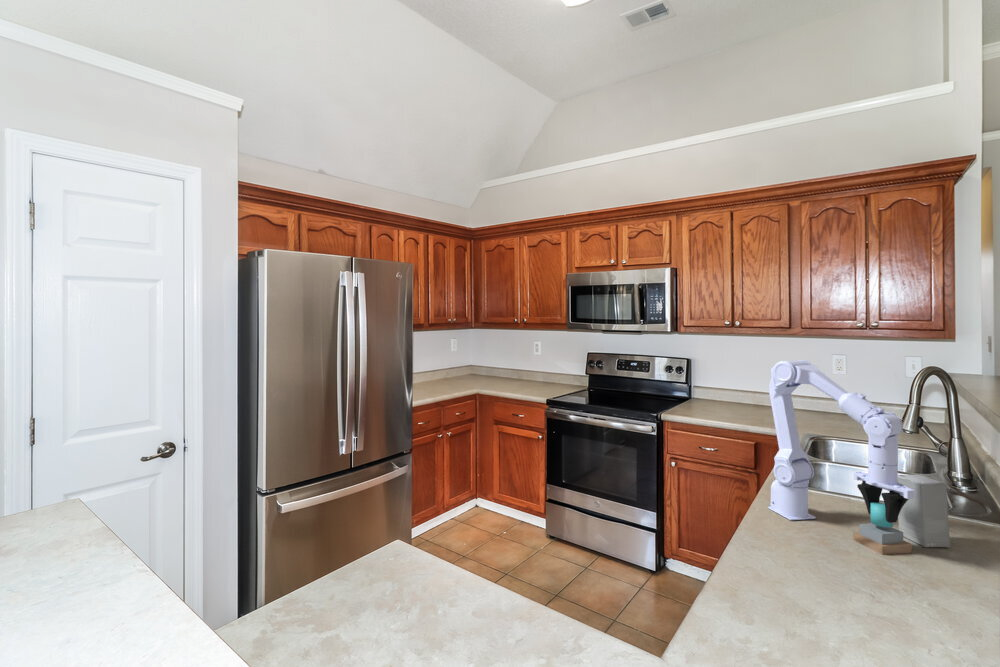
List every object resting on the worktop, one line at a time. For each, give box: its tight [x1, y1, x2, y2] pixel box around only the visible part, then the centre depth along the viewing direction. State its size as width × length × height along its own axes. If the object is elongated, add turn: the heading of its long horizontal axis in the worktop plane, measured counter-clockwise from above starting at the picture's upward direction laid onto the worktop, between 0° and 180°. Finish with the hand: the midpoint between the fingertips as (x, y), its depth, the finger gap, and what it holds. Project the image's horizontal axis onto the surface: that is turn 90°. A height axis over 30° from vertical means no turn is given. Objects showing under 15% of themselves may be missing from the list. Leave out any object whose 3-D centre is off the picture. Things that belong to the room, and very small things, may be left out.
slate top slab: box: [859, 522, 904, 545], centre depth 121 cm, size 6×6×2 cm
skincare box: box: [897, 474, 951, 548], centre depth 124 cm, size 8×7×16 cm
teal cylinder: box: [869, 501, 894, 528], centre depth 121 cm, size 4×4×4 cm
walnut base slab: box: [852, 531, 912, 556], centre depth 121 cm, size 8×8×2 cm
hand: (882, 517), depth 121 cm, fingers closed on teal cylinder, 4 cm apart
